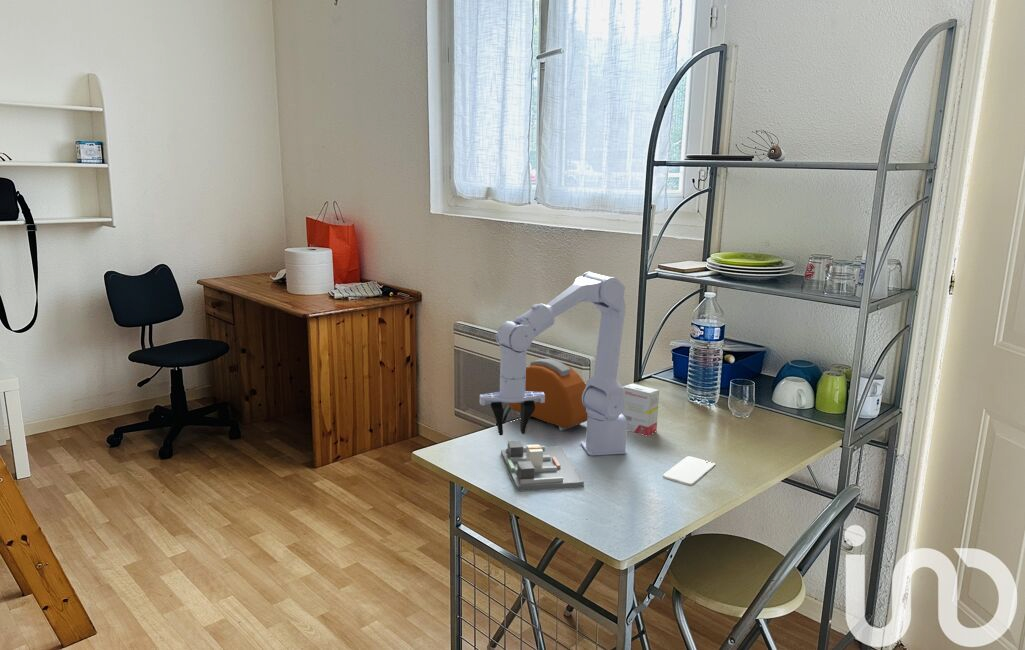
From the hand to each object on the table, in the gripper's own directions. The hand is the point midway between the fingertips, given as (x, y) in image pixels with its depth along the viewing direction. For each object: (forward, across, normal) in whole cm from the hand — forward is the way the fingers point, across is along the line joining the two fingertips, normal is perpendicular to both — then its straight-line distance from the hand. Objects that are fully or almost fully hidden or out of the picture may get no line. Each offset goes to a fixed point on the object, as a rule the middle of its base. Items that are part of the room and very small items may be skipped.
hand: (511, 433), depth 171 cm
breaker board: (+9, -8, 0) cm, 12 cm away
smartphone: (+10, -42, +5) cm, 43 cm away
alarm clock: (+10, -16, -32) cm, 37 cm away
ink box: (+10, -38, -21) cm, 45 cm away
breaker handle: (+8, -5, 0) cm, 10 cm away
